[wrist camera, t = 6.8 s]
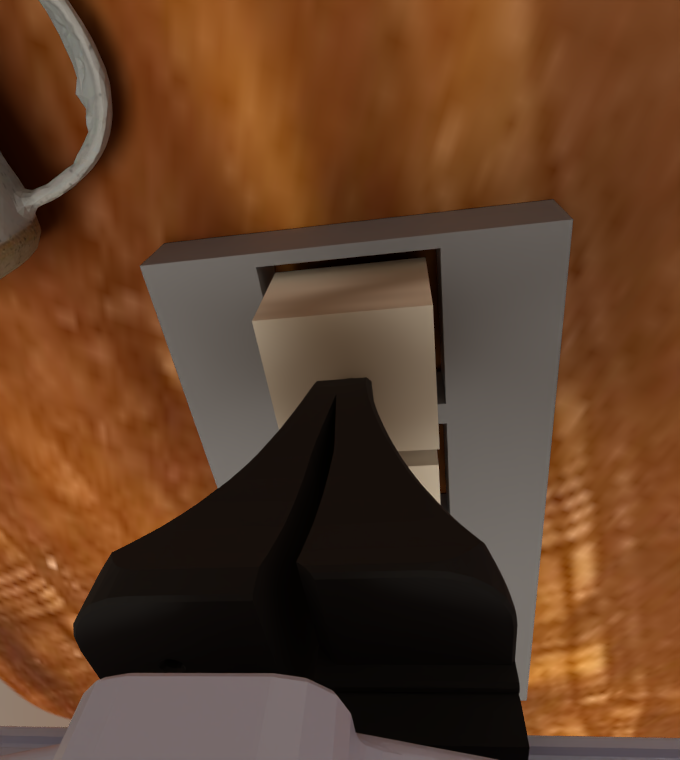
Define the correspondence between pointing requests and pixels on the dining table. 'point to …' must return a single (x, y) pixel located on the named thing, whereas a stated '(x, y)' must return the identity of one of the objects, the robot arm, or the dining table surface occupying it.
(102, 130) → the ceramic mug
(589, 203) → the dining table surface
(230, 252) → the grey slotted tray
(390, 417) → the key
